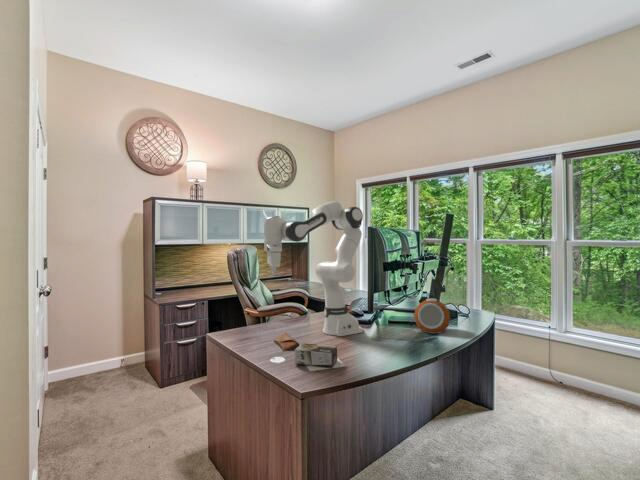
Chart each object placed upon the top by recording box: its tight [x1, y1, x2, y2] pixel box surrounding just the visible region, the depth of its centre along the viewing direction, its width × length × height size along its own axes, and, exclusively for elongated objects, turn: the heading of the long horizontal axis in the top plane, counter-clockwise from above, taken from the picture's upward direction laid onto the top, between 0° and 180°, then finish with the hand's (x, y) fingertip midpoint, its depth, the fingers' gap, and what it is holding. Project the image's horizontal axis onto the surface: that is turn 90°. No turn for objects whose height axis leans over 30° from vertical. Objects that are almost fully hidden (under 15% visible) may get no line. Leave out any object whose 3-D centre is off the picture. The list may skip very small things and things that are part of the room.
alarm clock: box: [413, 297, 451, 334], centre depth 184 cm, size 19×18×17 cm
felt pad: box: [305, 357, 346, 372], centre depth 140 cm, size 15×16×1 cm
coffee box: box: [294, 342, 338, 369], centre depth 138 cm, size 9×6×16 cm
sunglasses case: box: [273, 332, 300, 352], centre depth 163 cm, size 18×7×7 cm, turn 26°
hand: (273, 274), depth 168 cm, fingers closed
